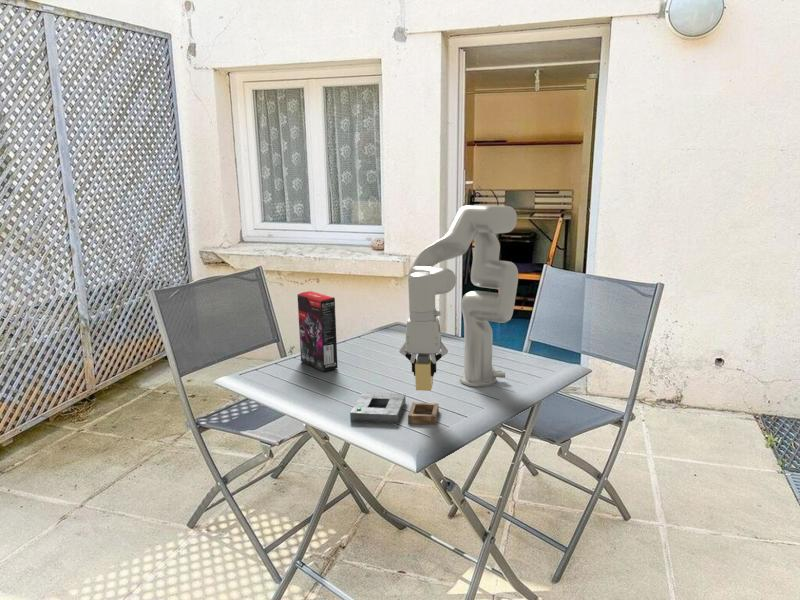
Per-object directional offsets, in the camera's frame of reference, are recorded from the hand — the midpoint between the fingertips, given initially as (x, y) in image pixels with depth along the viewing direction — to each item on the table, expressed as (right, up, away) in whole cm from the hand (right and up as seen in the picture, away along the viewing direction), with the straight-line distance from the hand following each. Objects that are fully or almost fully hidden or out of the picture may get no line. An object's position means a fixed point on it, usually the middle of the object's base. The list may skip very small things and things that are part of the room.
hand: (424, 374), depth 176 cm
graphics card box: (-38, -3, +50) cm, 63 cm away
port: (-14, -13, +7) cm, 20 cm away
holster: (0, -13, +3) cm, 13 cm away
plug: (0, -4, +1) cm, 4 cm away
